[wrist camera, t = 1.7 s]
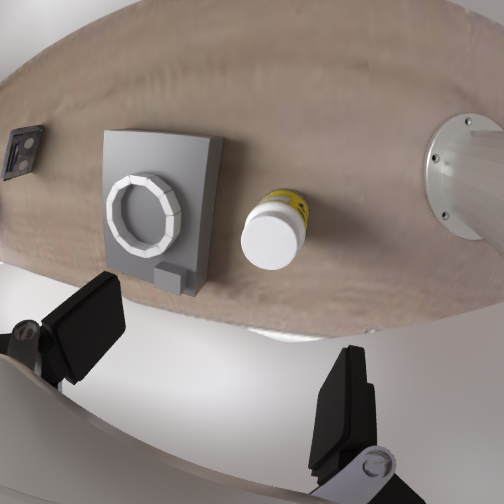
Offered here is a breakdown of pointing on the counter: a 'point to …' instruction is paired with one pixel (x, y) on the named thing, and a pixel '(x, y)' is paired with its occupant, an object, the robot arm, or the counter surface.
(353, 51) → the counter surface
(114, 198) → the grey ring holder base
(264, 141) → the counter surface
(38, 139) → the mini dv tape
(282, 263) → the supplement bottle
